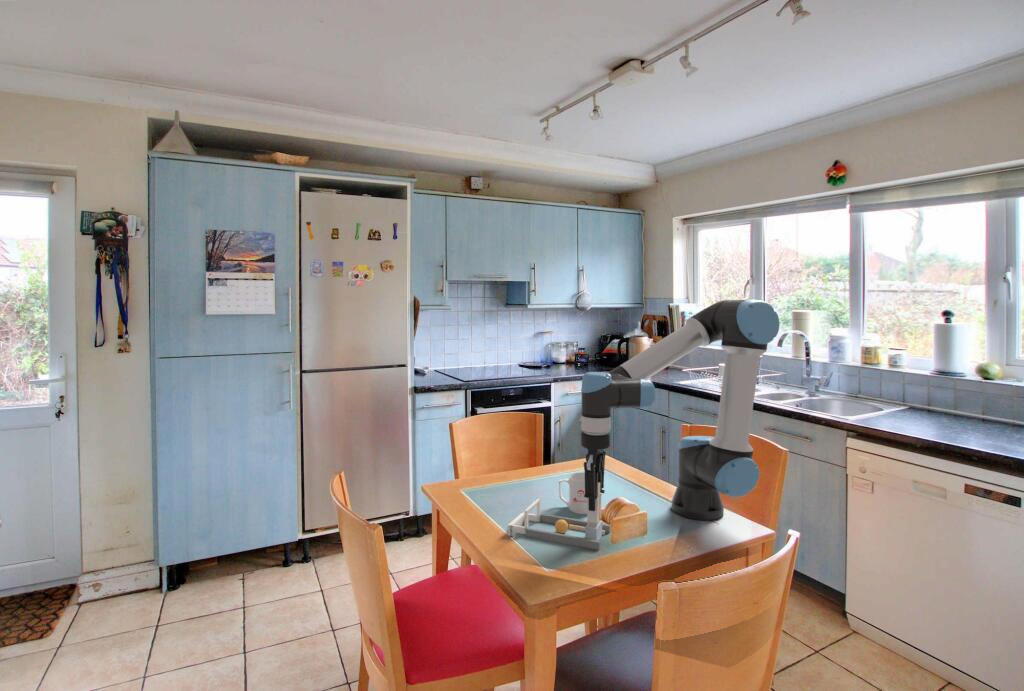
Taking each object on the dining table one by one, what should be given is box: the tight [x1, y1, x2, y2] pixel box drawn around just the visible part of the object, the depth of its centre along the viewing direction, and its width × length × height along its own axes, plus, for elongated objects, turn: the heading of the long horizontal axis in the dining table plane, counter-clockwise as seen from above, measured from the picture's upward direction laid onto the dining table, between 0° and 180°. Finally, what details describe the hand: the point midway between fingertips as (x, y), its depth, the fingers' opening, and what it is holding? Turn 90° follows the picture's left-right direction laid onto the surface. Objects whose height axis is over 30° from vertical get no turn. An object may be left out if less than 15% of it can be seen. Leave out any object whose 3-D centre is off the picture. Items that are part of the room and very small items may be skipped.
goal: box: [507, 498, 542, 537], centre depth 152 cm, size 6×10×8 cm, turn 156°
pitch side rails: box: [525, 512, 611, 551], centre depth 147 cm, size 20×12×3 cm, turn 66°
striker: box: [584, 482, 603, 541], centre depth 144 cm, size 3×6×15 cm, turn 156°
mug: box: [558, 472, 587, 515], centre depth 165 cm, size 12×9×11 cm
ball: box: [554, 520, 569, 534], centre depth 148 cm, size 4×4×4 cm
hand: (594, 519), depth 144 cm, fingers closed on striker, 2 cm apart
